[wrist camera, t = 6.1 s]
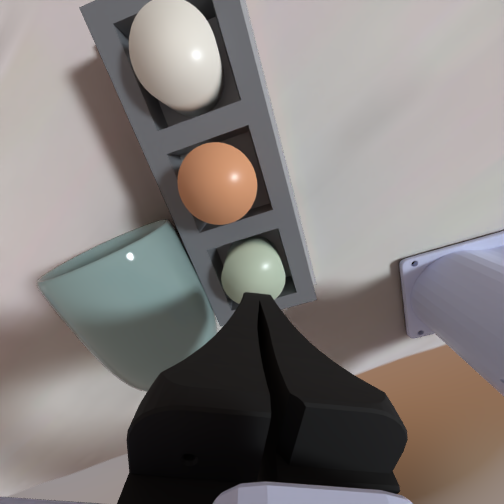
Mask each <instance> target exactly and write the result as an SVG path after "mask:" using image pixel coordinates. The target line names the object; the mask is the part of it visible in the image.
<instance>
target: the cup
mask: <svg viewBox="0 0 504 504" xmlns="http://www.w3.org/2000/svg"><path fill="white" fill-rule="evenodd" d="M37 287H38V289H39V291H40V292H41V294H42V295H43V297H44V298H45V299H46V300H47V302H48V303H49V304H50V306H51V307H52V308H53V309H54V310H55V312H56V313H57V314H58V315H59V316H60V318H61V319H62V320H63V321H64V322H65V324H66V325H67V326H68V327H69V328H70V330H71V331H72V332H73V333H74V334H75V335H76V337H77V338H78V339H79V340H80V341H81V342H82V344H83V345H84V346H85V347H86V348H87V349H88V350H89V351H90V352H91V354H92V355H93V356H94V357H95V358H96V359H97V360H98V361H99V362H100V363H101V364H102V365H103V366H104V367H105V368H106V369H107V370H108V371H110V372H111V373H112V374H113V375H114V376H116V377H117V378H118V379H119V380H121V381H123V382H124V383H126V384H127V385H129V386H131V387H133V388H135V389H138V390H140V391H146V392H147V391H148V390H149V388H150V387H151V385H152V384H153V382H154V381H155V379H156V378H157V377H158V375H159V374H160V373H161V372H162V371H164V370H166V369H168V368H170V367H172V366H174V365H175V364H177V363H179V362H181V361H183V360H184V359H186V358H187V357H188V356H190V355H191V354H193V353H194V352H195V351H197V350H198V349H200V348H201V347H202V346H203V345H205V344H206V343H207V342H208V341H209V340H210V339H211V338H213V337H214V336H215V335H216V334H217V322H216V317H215V313H214V311H213V308H212V306H211V304H210V302H209V299H208V297H207V295H206V293H205V290H204V288H203V286H202V284H201V281H200V279H199V277H198V275H197V272H196V270H195V268H194V266H193V263H192V261H191V259H190V256H189V254H188V252H187V250H186V248H185V247H184V245H183V243H182V241H181V239H180V237H179V235H178V234H177V232H176V230H175V228H174V227H173V225H172V224H171V222H170V221H169V220H167V219H164V220H160V221H156V222H153V223H150V224H148V225H145V226H142V227H140V228H137V229H135V230H132V231H130V232H127V233H125V234H123V235H120V236H118V237H116V238H113V239H111V240H109V241H107V242H105V243H102V244H100V245H98V246H96V247H94V248H92V249H90V250H88V251H86V252H84V253H82V254H80V255H78V256H76V257H74V258H72V259H70V260H68V261H67V262H65V263H63V264H61V265H59V266H58V267H56V268H54V269H53V270H51V271H49V272H48V273H46V274H45V275H43V276H42V277H41V278H39V279H38V280H37Z"/></svg>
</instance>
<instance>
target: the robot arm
mask: <svg viewBox="0 0 504 504" xmlns="http://www.w3.org/2000/svg"><path fill="white" fill-rule="evenodd" d="M413 261H415V263H414V264H413V265H411V264H412V262H413ZM399 267H400V276H401V285H402V294H403V303H404V312H405V321H406V330H407V335H408V336H409V337H410V338H418V337H422V336H426V335H430V334H434V333H435V334H436V335H437V336H438V337H439V338H441V339H442V340H443V341H444V342H445V343H446V344H447V345H448V346H449V347H450V348H452V349H453V350H454V351H455V352H456V353H457V354H458V355H459V356H460V357H461V358H462V359H464V360H465V361H466V362H467V363H468V364H469V365H470V366H471V367H472V368H473V369H474V370H476V371H477V372H478V373H479V374H480V375H481V376H482V377H483V378H484V379H485V380H487V381H488V382H489V383H490V384H491V385H492V386H493V387H494V388H495V389H497V391H498V392H500V393H501V394H502V395H503V396H504V231H501V232H498V233H494V234H491V235H487V236H484V237H480V238H476V239H473V240H469V241H466V242H462V243H459V244H455V245H451V246H448V247H444V248H441V249H437V250H434V251H430V252H426V253H423V254H419V255H416V256H412V257H408V258H405V259H403V260H402V261H401V262H400V264H399ZM406 442H407V430H406V428H405V426H404V424H403V422H402V421H401V419H400V417H399V415H398V413H397V412H396V410H395V408H394V406H393V405H392V403H391V402H390V400H389V399H388V397H387V396H386V394H385V393H384V392H383V391H381V390H379V389H377V388H376V387H374V386H372V385H370V384H368V383H366V382H365V381H363V380H361V379H359V378H358V377H356V376H354V375H353V374H351V373H350V372H348V371H347V370H345V369H344V368H342V367H341V366H339V365H338V364H336V363H335V362H333V361H332V360H331V359H329V358H328V357H327V356H326V355H324V354H323V353H322V352H320V351H319V350H318V349H317V348H316V347H314V346H313V345H312V344H311V343H310V342H309V341H308V340H307V339H306V338H305V337H304V336H303V335H302V334H301V333H300V332H299V331H298V330H297V329H296V328H295V327H294V326H293V325H292V324H291V322H290V321H289V320H288V319H287V317H286V316H285V315H284V313H283V312H282V311H281V309H280V308H279V306H278V305H277V303H276V302H275V300H274V299H273V298H272V296H271V295H269V294H260V293H251V292H245V293H243V297H242V299H241V302H240V304H239V305H238V307H237V309H236V310H235V312H234V313H233V315H232V316H231V317H230V319H229V320H228V321H227V323H226V324H225V325H224V326H223V327H222V328H221V330H220V331H219V332H218V333H217V334H216V335H215V336H214V337H213V338H211V339H210V340H209V341H208V342H207V343H206V344H205V345H203V346H202V347H201V348H200V349H198V350H197V351H195V352H194V353H193V354H191V355H190V356H188V357H187V358H186V359H184V360H183V361H181V362H179V363H177V364H175V365H174V366H172V367H170V368H168V369H166V370H164V371H162V372H161V373H160V374H159V375H158V377H157V378H156V379H155V381H154V382H153V384H152V385H151V387H150V388H149V390H148V391H147V393H146V395H145V396H144V398H143V400H142V401H141V403H140V405H139V407H138V409H137V412H136V414H135V416H134V418H133V420H132V422H131V425H130V427H129V429H128V433H127V449H128V461H129V475H128V478H127V480H126V482H125V485H124V488H123V490H122V493H121V495H120V498H119V500H118V503H117V504H412V502H411V501H410V500H408V499H407V498H405V497H403V496H402V495H398V493H399V492H400V488H399V484H398V482H397V480H396V478H395V476H394V474H393V469H394V468H395V466H396V464H397V462H398V460H399V458H400V457H401V455H402V453H403V451H404V448H405V445H406ZM0 504H99V503H84V502H70V501H56V500H41V499H26V498H12V497H0Z"/></svg>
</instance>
